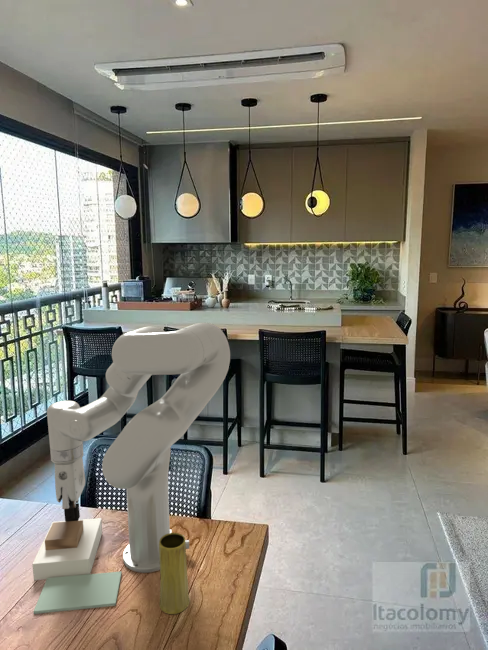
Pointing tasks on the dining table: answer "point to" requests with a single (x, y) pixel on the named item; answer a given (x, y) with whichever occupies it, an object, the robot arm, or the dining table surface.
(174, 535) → the vase
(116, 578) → the mat
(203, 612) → the dining table surface
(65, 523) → the block
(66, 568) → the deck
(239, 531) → the dining table surface
